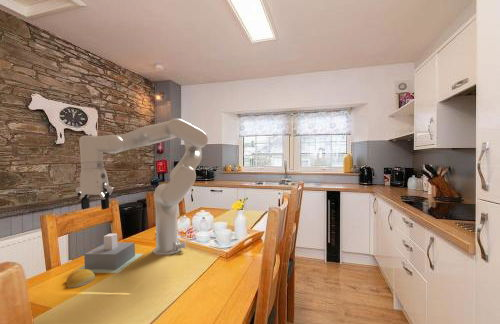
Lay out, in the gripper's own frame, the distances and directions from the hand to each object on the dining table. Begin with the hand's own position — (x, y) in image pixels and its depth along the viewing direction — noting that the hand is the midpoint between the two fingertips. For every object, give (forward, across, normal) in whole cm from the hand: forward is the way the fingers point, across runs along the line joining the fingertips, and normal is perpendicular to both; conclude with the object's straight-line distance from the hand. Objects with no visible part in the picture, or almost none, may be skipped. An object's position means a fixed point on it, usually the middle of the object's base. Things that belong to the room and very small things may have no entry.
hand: (95, 208), depth 96 cm
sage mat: (+24, -3, -3) cm, 24 cm away
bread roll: (+24, -4, +12) cm, 27 cm away
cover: (+23, -3, -3) cm, 24 cm away
